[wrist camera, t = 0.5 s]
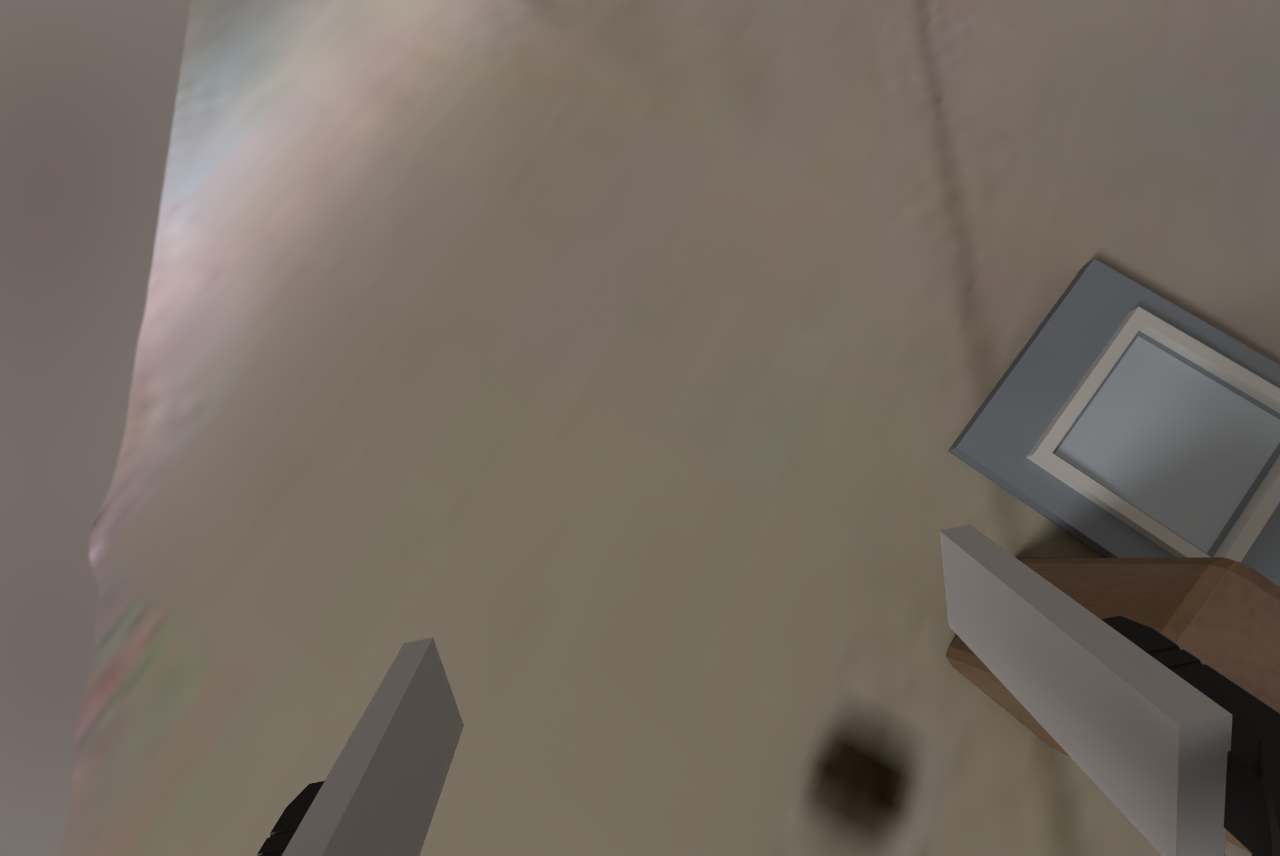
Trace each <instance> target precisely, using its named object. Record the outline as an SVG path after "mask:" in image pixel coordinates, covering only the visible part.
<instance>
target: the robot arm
mask: <svg viewBox="0 0 1280 856" xmlns="http://www.w3.org/2000/svg"><path fill="white" fill-rule="evenodd" d="M940 540H941V551H942V562H943V573H944V584H945V595H946V606H947V617H948V626H949V627H950V628H951V629H952V630H953V631H954V632H955V633H956V634H957V635H958V636H959V637H960V638H961V640H962V641H963V642H964V643H965V644H966V645H967V646H968V647H969V648H970V649H971V650H972V651H973V652H974V654H975V655H976V656H977V657H978V658H979V659H980V660H981V661H982V662H983V663H984V664H985V665H986V666H987V668H988V669H989V670H990V671H991V672H992V673H993V674H994V675H995V676H996V677H997V678H998V679H999V681H1000V682H1001V683H1002V684H1003V685H1004V686H1005V687H1006V688H1007V689H1008V690H1009V691H1010V692H1011V693H1012V695H1013V696H1014V697H1015V698H1016V699H1017V700H1018V701H1019V702H1020V703H1021V704H1022V705H1023V706H1024V707H1025V709H1026V710H1027V711H1028V712H1029V713H1030V714H1031V715H1032V716H1033V717H1034V718H1035V719H1036V720H1037V721H1038V723H1039V724H1040V725H1041V726H1042V727H1043V728H1044V729H1045V730H1046V731H1047V732H1048V733H1049V734H1050V735H1051V737H1052V738H1053V739H1054V740H1055V741H1056V742H1057V743H1058V744H1059V745H1060V746H1061V747H1062V748H1063V750H1064V751H1065V752H1066V753H1067V754H1068V755H1069V756H1070V757H1071V758H1072V759H1073V760H1074V761H1075V762H1076V764H1077V765H1078V766H1079V767H1080V768H1081V769H1082V770H1083V771H1084V772H1085V773H1086V774H1087V775H1088V776H1089V778H1090V779H1091V780H1092V781H1093V782H1094V783H1095V784H1096V785H1097V786H1098V787H1099V788H1100V789H1101V790H1102V792H1103V793H1104V794H1105V795H1106V796H1107V797H1108V798H1109V799H1110V800H1111V801H1112V802H1113V803H1114V804H1115V806H1116V807H1117V808H1118V809H1119V810H1120V811H1121V812H1122V813H1123V814H1124V815H1125V816H1126V817H1127V819H1128V820H1129V821H1130V822H1131V823H1132V824H1133V825H1134V826H1135V827H1136V828H1137V829H1138V830H1139V831H1140V833H1141V834H1142V835H1143V836H1144V837H1145V838H1146V839H1147V840H1148V841H1149V842H1150V843H1151V844H1152V845H1153V847H1154V848H1155V849H1156V850H1157V851H1158V852H1159V853H1160V854H1161V855H1162V856H1225V845H1226V830H1227V831H1228V832H1229V833H1231V834H1232V835H1233V836H1234V837H1235V838H1236V839H1237V840H1238V841H1239V842H1240V843H1241V844H1242V845H1244V846H1245V847H1246V848H1247V849H1248V850H1249V851H1250V852H1251V853H1252V856H1280V713H1278V712H1277V711H1275V710H1274V709H1272V708H1271V707H1269V706H1268V705H1266V704H1265V703H1263V702H1262V701H1260V700H1259V699H1257V698H1256V697H1254V696H1253V695H1251V694H1250V693H1248V692H1247V691H1245V690H1244V689H1242V688H1241V687H1239V686H1238V685H1236V684H1235V683H1233V682H1232V681H1230V680H1229V679H1227V678H1226V677H1225V676H1223V675H1222V674H1220V673H1219V672H1217V671H1216V670H1214V669H1213V668H1211V667H1210V666H1208V665H1207V664H1204V665H1203V664H1202V663H1201V661H1200V660H1199V659H1198V658H1196V657H1195V656H1193V655H1192V654H1190V653H1189V652H1187V651H1186V650H1184V649H1183V650H1181V649H1180V648H1179V646H1178V645H1177V644H1175V643H1174V642H1172V641H1171V640H1169V639H1168V638H1166V637H1165V636H1163V635H1162V634H1160V633H1159V632H1157V631H1156V630H1154V629H1153V628H1151V627H1148V626H1146V625H1143V624H1140V623H1138V622H1135V621H1133V620H1130V619H1128V618H1125V617H1123V616H1115V617H1110V618H1105V619H1099V618H1098V617H1097V616H1095V615H1094V614H1093V613H1091V612H1090V611H1088V610H1087V609H1086V608H1084V607H1083V606H1081V605H1080V604H1079V603H1077V602H1076V601H1075V600H1073V599H1072V598H1070V597H1069V596H1068V595H1066V594H1065V593H1064V592H1062V591H1061V590H1059V589H1058V588H1057V587H1055V586H1054V585H1053V584H1051V583H1050V582H1048V581H1047V580H1046V579H1044V578H1043V577H1041V576H1040V575H1039V574H1037V573H1036V572H1035V571H1033V570H1032V569H1030V568H1029V567H1028V566H1026V565H1025V564H1024V563H1022V562H1021V561H1019V560H1018V559H1017V558H1015V557H1014V556H1012V555H1011V554H1010V553H1008V552H1007V551H1006V550H1004V549H1003V548H1001V547H1000V546H999V545H997V544H996V543H995V542H993V541H992V540H990V539H989V538H988V537H986V536H985V535H984V534H982V533H981V532H979V531H978V530H977V529H975V528H974V527H972V526H971V525H966V526H961V527H956V528H951V529H947V530H942V531H940ZM463 726H464V725H463V722H462V719H461V716H460V713H459V710H458V707H457V705H456V702H455V699H454V696H453V693H452V690H451V687H450V685H449V682H448V679H447V676H446V673H445V670H444V667H443V665H442V662H441V659H440V656H439V653H438V650H437V647H436V645H435V642H434V639H433V638H428V639H424V640H419V641H414V642H409V643H405V644H404V645H403V646H402V648H401V650H400V651H399V653H398V655H397V657H396V658H395V660H394V662H393V664H392V665H391V667H390V669H389V671H388V672H387V674H386V676H385V678H384V679H383V681H382V683H381V684H380V686H379V688H378V690H377V691H376V693H375V695H374V697H373V698H372V700H371V702H370V704H369V705H368V707H367V709H366V710H365V712H364V714H363V716H362V717H361V719H360V721H359V723H358V724H357V726H356V728H355V730H354V731H353V733H352V735H351V736H350V738H349V740H348V742H347V743H346V745H345V747H344V749H343V750H342V752H341V754H340V756H339V757H338V759H337V761H336V762H335V764H334V766H333V768H332V769H331V771H330V773H329V775H328V776H327V778H326V780H325V781H322V782H317V783H312V784H309V785H308V786H307V787H306V788H305V789H304V790H303V791H302V792H301V793H300V794H299V795H298V796H297V797H296V798H295V799H294V800H293V801H292V802H291V803H290V804H289V805H288V806H287V807H286V809H285V810H284V812H283V813H282V815H281V817H280V818H279V820H278V822H277V823H276V825H275V826H274V828H273V830H272V831H271V833H270V834H271V835H270V838H267V839H266V841H265V843H264V844H263V846H262V847H261V849H260V851H259V852H258V854H257V855H258V856H419V855H420V852H421V849H422V846H423V843H424V840H425V837H426V835H427V832H428V829H429V826H430V823H431V820H432V817H433V814H434V811H435V808H436V805H437V802H438V799H439V797H440V794H441V791H442V788H443V785H444V782H445V779H446V776H447V773H448V770H449V767H450V764H451V761H452V758H453V756H454V753H455V750H456V747H457V744H458V741H459V738H460V735H461V732H462V729H463Z"/></svg>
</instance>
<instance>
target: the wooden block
mask: <svg viewBox="0 0 1280 856" xmlns="http://www.w3.org/2000/svg"><path fill="white" fill-rule="evenodd" d="M1019 561H1021V562H1022V563H1024V564H1025V565H1026V566H1028V567H1029V568H1030V569H1032V570H1033V571H1035V572H1036V573H1037V574H1039V575H1040V576H1041V577H1043V578H1044V579H1046V580H1047V581H1048V582H1050V583H1051V584H1053V585H1054V586H1055V587H1057V588H1058V589H1059V590H1061V591H1062V592H1064V593H1065V594H1066V595H1068V596H1069V597H1070V598H1072V599H1073V600H1075V601H1076V602H1077V603H1079V604H1080V605H1081V606H1083V607H1084V608H1086V609H1087V610H1088V611H1090V612H1091V613H1093V614H1094V615H1095V616H1097V617H1098V618H1099V619H1105V618H1110V617H1115V616H1123V617H1125V618H1128V619H1130V620H1133V621H1135V622H1138V623H1140V624H1143V625H1146V626H1148V627H1151V628H1153V629H1154V630H1156V631H1157V632H1159V633H1160V634H1162V635H1163V636H1165V637H1166V638H1168V639H1169V640H1171V641H1172V642H1174V643H1175V644H1177V645H1178V646H1179V648H1180V649H1181V650H1183V649H1184V650H1186V651H1187V652H1189V653H1190V654H1192V655H1193V656H1195V657H1196V658H1198V659H1199V660H1200V661H1201V663H1202V664H1203V665H1204V664H1207V665H1208V666H1210V667H1211V668H1213V669H1214V670H1216V671H1217V672H1219V673H1220V674H1222V675H1223V676H1225V677H1226V678H1227V679H1229V680H1230V681H1232V682H1233V683H1235V684H1236V685H1238V686H1239V687H1241V688H1242V689H1244V690H1245V691H1247V692H1248V693H1250V694H1251V695H1253V696H1254V697H1256V698H1257V699H1259V700H1260V701H1262V702H1263V703H1265V704H1266V705H1268V706H1269V707H1271V708H1272V709H1274V710H1275V711H1277V712H1278V713H1280V587H1279V586H1277V585H1276V584H1274V583H1273V582H1272V581H1270V580H1269V579H1267V578H1266V577H1264V576H1263V575H1261V574H1260V573H1259V572H1257V571H1256V570H1254V569H1253V568H1251V567H1249V566H1247V565H1245V564H1243V563H1241V562H1237V561H1234V560H1231V559H1227V558H1224V557H1190V558H1021V559H1019ZM946 656H947V658H948V660H949V661H950V663H951V665H952V666H953V667H954V668H955V669H956V670H958V671H959V672H960V673H961V674H963V675H964V676H965V677H966V678H967V679H969V680H970V681H971V682H972V683H974V684H975V685H976V686H977V687H978V688H980V689H981V690H982V691H983V692H984V693H986V694H987V695H988V696H989V697H991V698H992V699H993V700H994V701H995V702H997V703H998V704H999V705H1000V706H1002V707H1003V708H1004V709H1005V710H1006V711H1008V712H1009V713H1010V714H1011V715H1013V716H1014V717H1015V718H1016V719H1017V720H1019V721H1020V722H1021V723H1022V724H1024V725H1025V726H1026V727H1027V728H1028V729H1030V730H1031V731H1032V732H1033V733H1035V734H1036V735H1037V736H1038V737H1039V738H1041V739H1042V740H1043V741H1044V742H1046V743H1047V744H1048V745H1049V746H1051V747H1053V748H1054V749H1056V750H1058V751H1060V752H1062V753H1064V754H1066V755H1068V754H1067V753H1066V752H1065V751H1064V750H1063V748H1062V747H1061V746H1060V745H1059V744H1058V743H1057V742H1056V741H1055V740H1054V739H1053V738H1052V737H1051V735H1050V734H1049V733H1048V732H1047V731H1046V730H1045V729H1044V728H1043V727H1042V726H1041V725H1040V724H1039V723H1038V721H1037V720H1036V719H1035V718H1034V717H1033V716H1032V715H1031V714H1030V713H1029V712H1028V711H1027V710H1026V709H1025V707H1024V706H1023V705H1022V704H1021V703H1020V702H1019V701H1018V700H1017V699H1016V698H1015V697H1014V696H1013V695H1012V693H1011V692H1010V691H1009V690H1008V689H1007V688H1006V687H1005V686H1004V685H1003V684H1002V683H1001V682H1000V681H999V679H998V678H997V677H996V676H995V675H994V674H993V673H992V672H991V671H990V670H989V669H988V668H987V666H986V665H985V664H984V663H983V662H982V661H981V660H980V659H979V658H978V657H977V656H976V655H975V654H974V652H973V651H972V650H971V649H970V648H969V647H968V646H967V645H966V644H965V643H964V642H963V641H962V640H961V638H960V637H959V636H958V635H957V636H956V638H955V639H954V640H953V642H952V643H951V644H950V646H949V648H948V651H947V654H946ZM1068 756H1069V755H1068ZM1069 757H1070V756H1069ZM1226 840H1227V841H1229V842H1231V843H1233V844H1234V845H1236V846H1238V847H1240V848H1242V849H1244V850H1246V851H1248V852H1249V853H1251V852H1250V851H1249V850H1248V849H1247V848H1246V847H1245V846H1244V845H1242V844H1241V843H1240V842H1239V841H1238V840H1237V839H1236V838H1235V837H1234V836H1233V835H1232V834H1231V833H1229V832H1228V831H1227V830H1226ZM1251 854H1252V853H1251Z"/></svg>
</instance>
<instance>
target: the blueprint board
mask: <svg viewBox="0 0 1280 856" xmlns="http://www.w3.org/2000/svg"><path fill="white" fill-rule="evenodd" d="M949 451H950V452H951V453H953V454H954V455H955V456H957V457H958V458H960V459H961V460H963V461H964V462H966V463H967V464H969V465H970V466H972V467H973V468H974V469H976V470H977V471H979V472H980V473H982V474H983V475H985V476H986V477H988V478H989V479H991V480H992V481H994V482H995V483H996V484H998V485H999V486H1001V487H1002V488H1004V489H1005V490H1007V491H1008V492H1010V493H1011V494H1013V495H1014V496H1015V497H1017V498H1018V499H1020V500H1021V501H1023V502H1024V503H1026V504H1027V505H1029V506H1030V507H1032V508H1033V509H1034V510H1036V511H1037V512H1039V513H1040V514H1042V515H1043V516H1045V517H1046V518H1048V519H1049V520H1051V521H1052V522H1053V523H1055V524H1056V525H1058V526H1059V527H1061V528H1062V529H1064V530H1065V531H1067V532H1068V533H1070V534H1071V535H1072V536H1074V537H1075V538H1077V539H1078V540H1080V541H1081V542H1083V543H1084V544H1086V545H1087V546H1089V547H1090V548H1091V549H1093V550H1094V551H1096V552H1097V553H1099V554H1100V555H1102V556H1103V557H1105V558H1190V557H1224V558H1227V559H1231V560H1234V561H1237V562H1241V563H1243V564H1245V565H1247V566H1249V567H1251V568H1253V569H1254V570H1256V571H1257V572H1259V573H1260V574H1261V575H1263V576H1264V577H1266V578H1267V579H1269V580H1270V581H1272V582H1273V583H1274V584H1276V585H1277V586H1279V587H1280V365H1279V364H1277V363H1276V362H1274V361H1272V360H1270V359H1269V358H1267V357H1265V356H1264V355H1262V354H1260V353H1258V352H1257V351H1255V350H1253V349H1251V348H1250V347H1248V346H1246V345H1244V344H1243V343H1241V342H1239V341H1237V340H1236V339H1234V338H1232V337H1230V336H1229V335H1227V334H1225V333H1223V332H1222V331H1220V330H1218V329H1216V328H1215V327H1213V326H1211V325H1209V324H1208V323H1206V322H1204V321H1203V320H1201V319H1199V318H1197V317H1196V316H1194V315H1192V314H1190V313H1189V312H1187V311H1185V310H1183V309H1182V308H1180V307H1178V306H1176V305H1175V304H1173V303H1171V302H1169V301H1168V300H1166V299H1164V298H1162V297H1161V296H1159V295H1157V294H1155V293H1154V292H1152V291H1150V290H1148V289H1147V288H1145V287H1143V286H1142V285H1140V284H1138V283H1136V282H1135V281H1133V280H1131V279H1129V278H1128V277H1126V276H1124V275H1122V274H1121V273H1119V272H1117V271H1115V270H1114V269H1112V268H1110V267H1108V266H1107V265H1105V264H1103V263H1101V262H1100V261H1098V260H1096V259H1093V260H1091V261H1090V262H1089V263H1087V264H1086V265H1085V266H1083V267H1082V269H1081V270H1080V272H1079V273H1078V274H1077V276H1076V277H1075V278H1074V280H1073V281H1072V282H1071V284H1070V285H1069V287H1068V288H1067V289H1066V291H1065V292H1064V293H1063V295H1062V296H1061V297H1060V299H1059V300H1058V302H1057V303H1056V304H1055V306H1054V307H1053V308H1052V310H1051V311H1050V313H1049V314H1048V315H1047V317H1046V318H1045V319H1044V321H1043V322H1042V323H1041V325H1040V326H1039V328H1038V329H1037V330H1036V332H1035V333H1034V334H1033V336H1032V337H1031V338H1030V340H1029V341H1028V343H1027V344H1026V345H1025V347H1024V348H1023V349H1022V351H1021V352H1020V354H1019V355H1018V356H1017V358H1016V359H1015V360H1014V362H1013V363H1012V364H1011V366H1010V367H1009V369H1008V370H1007V371H1006V373H1005V374H1004V375H1003V377H1002V378H1001V380H1000V381H999V382H998V384H997V385H996V386H995V388H994V389H993V390H992V392H991V393H990V395H989V396H988V397H987V399H986V400H985V401H984V403H983V404H982V405H981V407H980V408H979V410H978V411H977V412H976V414H975V415H974V416H973V418H972V419H971V421H970V422H969V423H968V425H967V426H966V427H965V429H964V430H963V431H962V433H961V434H960V436H959V437H958V438H957V440H956V441H955V442H954V444H953V445H952V447H951V448H950V449H949Z"/></svg>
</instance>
